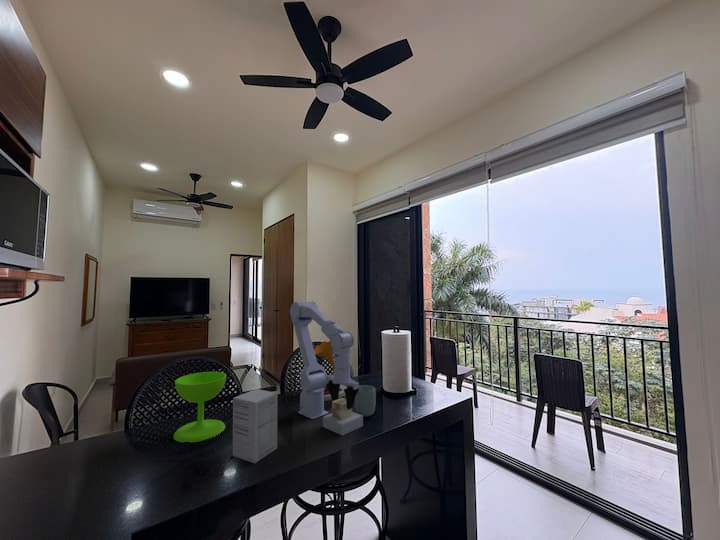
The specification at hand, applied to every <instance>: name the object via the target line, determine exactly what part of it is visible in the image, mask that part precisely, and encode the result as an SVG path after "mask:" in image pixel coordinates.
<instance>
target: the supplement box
mask: <svg viewBox="0 0 720 540" xmlns="http://www.w3.org/2000/svg"><path fill="white" fill-rule="evenodd" d="M232 401H233V402H232V456H233V457H235V458H238V459H241V460H244V461H247V462H250V463H253V464H256V463H258V462H259V461H260V460H262V459H263V458H265V457H267V456H268V455H270V454H271V453H272V452H274V451H276V450H277V449H278V393H277V392H273V391H271V390H270V391H268V390H264V389H259V388H255V389H253V390H251V391H248V392H245V393H242V394H239V395H238V396H235V397H233V398H232Z"/></svg>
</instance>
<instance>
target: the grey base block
mask: <svg viewBox="0 0 720 540" xmlns="http://www.w3.org/2000/svg"><path fill="white" fill-rule="evenodd" d="M362 427H364V416H363V415H360V414H358V413H357V412H354V411H352V416H350V417H347V418H345V419H342V420H341V419H338V418H336V417H333V416H332V412H330V413H328V414H326V415H323V416H322V428H325V429H327V430H329V431H332V432H334V433H336V434H338V435H339V436H342V437H343V436H345V435H347V434H349V433H351V432H353V431H355V430H357V429H360V428H362Z"/></svg>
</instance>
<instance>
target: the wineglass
mask: <svg viewBox="0 0 720 540" xmlns="http://www.w3.org/2000/svg"><path fill="white" fill-rule="evenodd" d="M226 382H227V373H225V372H219V371H204V372H195V373H190V374H186V375H183V376H180V377H179V378H177V379H175V380H174V385H175V386H174V387H175V390H176V392H177V394H178V395H179V396H180V397H181V398H182V399H183V400H184V401H187V402H189V403H194V404H196V403H197V420H196V421H192V422H189V423H186V424H185V425H182V426H181V427H179V428H178V429H177V430H176V431H175V432H174V433H173V437H172V438H173V440H174V441H176V442H179V443H184V442H190V443H197V442H203V440H204V441H206V439H207V440H210V439H212V437H213V438H215V437H217V436H219V435H221V434H222V433H223V432H225V430H226V424H225V423H224V422H223V421H221V420H218V419H204V418H205V417H204V414H205V413H204V412H205V402H208V401H211V400H212V399H214V398H215V397H216V396H218V395H219V394H220V392H221V391H222V390H223V388H224V386H225V384H226ZM224 429H225V430H224ZM222 431H223V432H222ZM221 432H222V433H221ZM220 433H221V434H220ZM218 434H219V435H218ZM216 435H217V436H216ZM209 438H210V439H209Z"/></svg>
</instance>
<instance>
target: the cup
mask: <svg viewBox="0 0 720 540" xmlns="http://www.w3.org/2000/svg"><path fill="white" fill-rule="evenodd" d="M376 393H377V391H376V387H375V386H372V385H369V384H368V385H367V384H365V385H359V391H358V392H357V394H356V397H355V400H354V405H355V410H356V413H357V414H360V415H363V418H364V417H365V418H366V417H370V416H372V415H373V414H374V412H375V410H376V403H377V401H376V399H377V397H376Z"/></svg>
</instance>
